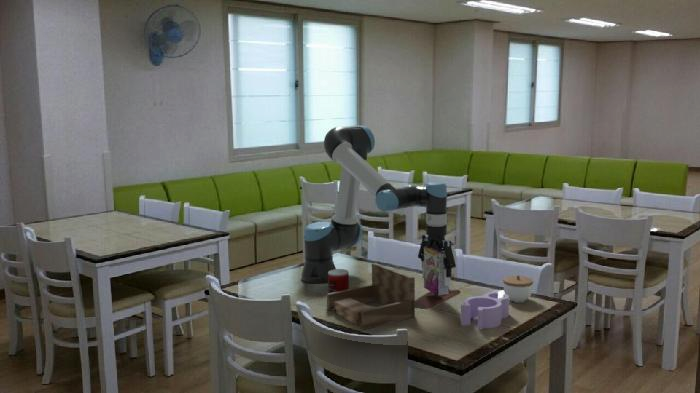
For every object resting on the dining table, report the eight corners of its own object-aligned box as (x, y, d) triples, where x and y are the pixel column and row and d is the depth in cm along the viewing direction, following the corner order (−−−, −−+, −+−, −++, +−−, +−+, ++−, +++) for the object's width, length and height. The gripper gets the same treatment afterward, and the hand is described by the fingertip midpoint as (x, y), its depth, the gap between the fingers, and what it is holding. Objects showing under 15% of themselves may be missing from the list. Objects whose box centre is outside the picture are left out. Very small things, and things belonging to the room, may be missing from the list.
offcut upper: (334, 308, 226) (334, 301, 226) (350, 304, 230) (350, 298, 230) (357, 319, 215) (357, 312, 214) (374, 315, 219) (374, 308, 218)
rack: (327, 309, 231) (326, 272, 228) (375, 298, 242) (375, 262, 240) (363, 329, 211) (363, 288, 208) (414, 316, 222) (414, 277, 220)
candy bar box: (423, 288, 243) (423, 246, 241) (434, 286, 245) (434, 244, 243) (437, 296, 233) (437, 252, 230) (449, 294, 235) (449, 251, 232)
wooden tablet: (427, 308, 227) (403, 300, 233) (426, 314, 228) (403, 305, 234) (462, 289, 248) (440, 282, 254) (461, 295, 249) (439, 288, 254)
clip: (486, 308, 229) (486, 289, 228) (517, 316, 221) (518, 296, 219) (454, 323, 215) (454, 303, 214) (486, 332, 206) (486, 312, 205)
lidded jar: (499, 302, 235) (500, 277, 233) (506, 294, 244) (506, 270, 243) (529, 306, 230) (530, 280, 229) (535, 297, 240) (535, 273, 238)
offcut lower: (336, 314, 227) (335, 307, 227) (353, 311, 231) (353, 304, 230) (355, 326, 215) (355, 319, 215) (373, 322, 219) (373, 315, 218)
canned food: (351, 297, 244) (350, 269, 242) (345, 303, 237) (345, 275, 235) (332, 296, 246) (331, 268, 244) (326, 302, 239) (325, 274, 237)
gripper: (408, 220, 243) (408, 275, 247) (450, 231, 223) (449, 291, 227) (423, 218, 247) (423, 272, 250) (466, 228, 227) (465, 287, 231)
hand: (436, 281), depth 239 cm, fingers closed on candy bar box, 12 cm apart
